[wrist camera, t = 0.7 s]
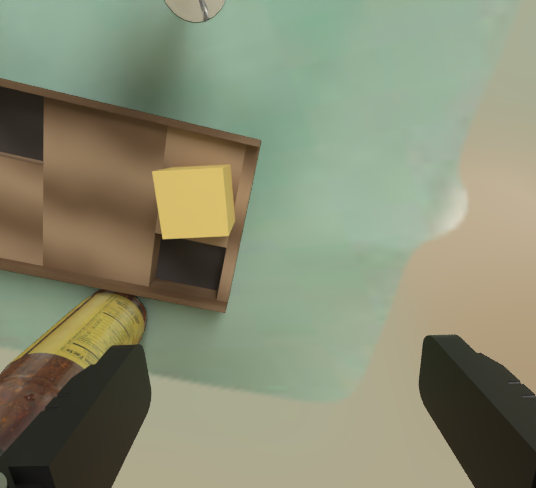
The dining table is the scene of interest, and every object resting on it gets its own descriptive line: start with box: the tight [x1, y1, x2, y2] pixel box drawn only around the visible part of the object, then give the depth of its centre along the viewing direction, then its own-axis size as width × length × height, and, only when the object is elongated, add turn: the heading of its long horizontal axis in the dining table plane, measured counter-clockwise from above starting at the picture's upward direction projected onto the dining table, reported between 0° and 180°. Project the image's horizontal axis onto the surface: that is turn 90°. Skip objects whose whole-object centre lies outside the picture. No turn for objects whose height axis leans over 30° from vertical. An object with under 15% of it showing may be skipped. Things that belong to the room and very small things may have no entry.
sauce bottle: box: [0, 289, 146, 456], centre depth 20 cm, size 7×6×20 cm
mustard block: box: [152, 164, 235, 239], centre depth 22 cm, size 4×4×4 cm
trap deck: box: [0, 78, 261, 313], centre depth 24 cm, size 14×28×4 cm, turn 77°
